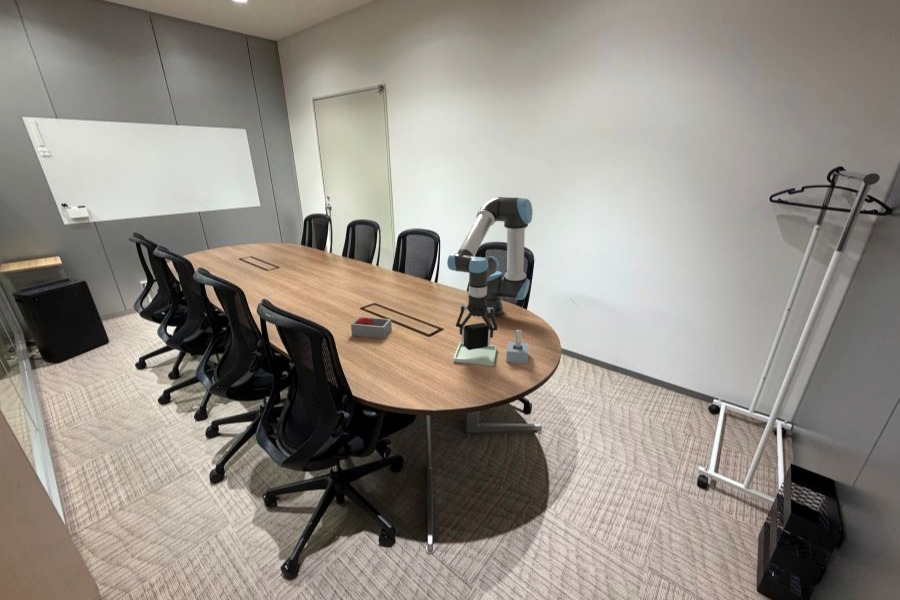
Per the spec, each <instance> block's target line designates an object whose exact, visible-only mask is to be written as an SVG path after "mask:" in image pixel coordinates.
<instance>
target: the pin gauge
mask: <svg viewBox="0 0 900 600" xmlns="http://www.w3.org/2000/svg"><path fill="white" fill-rule="evenodd" d="M514 342H515V349H518V350H520V348H521V343H522V329H518V328H517V329H515V340H514Z"/></svg>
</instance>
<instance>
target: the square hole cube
mask: <svg viewBox="0 0 900 600" xmlns="http://www.w3.org/2000/svg"><path fill="white" fill-rule="evenodd" d="M506 346H507V347H506V359H505V362H507V363H508V362H509V363H517V364H528V362H529V361H528V360H529V343H526V342H521V348H520V350H518V349H515V341H514V342H513V341H507V345H506Z"/></svg>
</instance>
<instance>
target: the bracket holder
mask: <svg viewBox="0 0 900 600" xmlns="http://www.w3.org/2000/svg"><path fill="white" fill-rule="evenodd" d="M362 317H363V316H358V317H357V318H356V319H355V320H354V321H353V322H351V323H350V329H351V335H352V336H353V337H354V336H355V337H364V338H375V339H383V340H384V339H386V338H387V337H388V335H389V334H390V333H391V332H392V331H393V329H392V319H391V318H382V317H380V318H379V317H369V316H366V317H367V318H369V319H370V320H371V324H372V325H367V322H363V323H362V324H357V323H358V321H359V319H360V318H362Z"/></svg>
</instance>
